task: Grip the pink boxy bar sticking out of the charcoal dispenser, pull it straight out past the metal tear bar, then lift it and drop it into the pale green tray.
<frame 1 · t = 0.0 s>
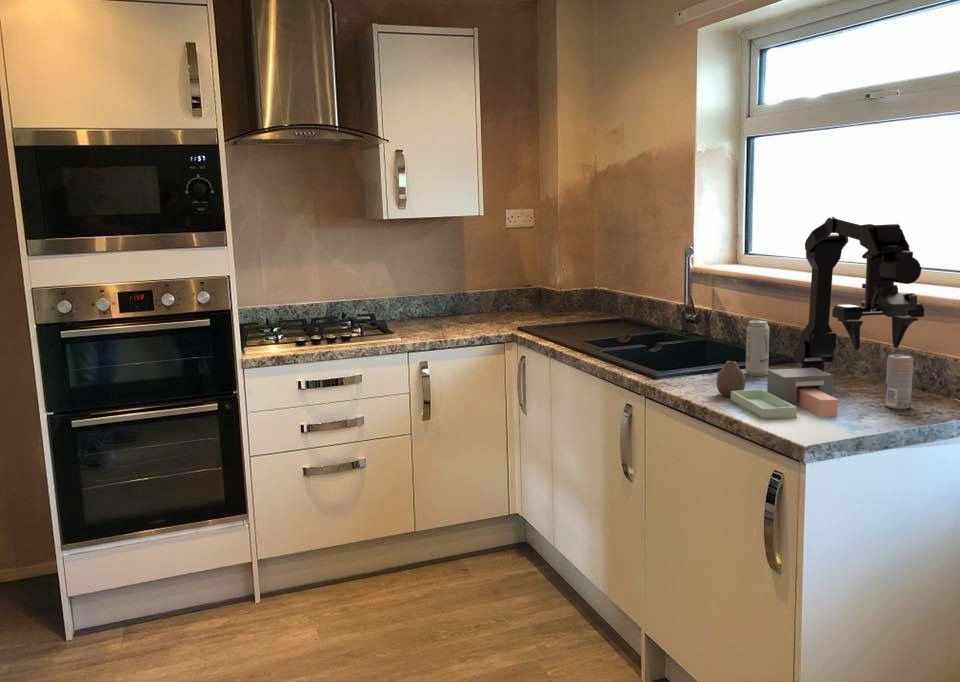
hand: (876, 348, 181), 15 cm above the worktop, tool pointing down, fingers open, 9 cm apart
pink boxy bar: (814, 409, 189), on the worktop
energy drink: (897, 407, 188), on the worktop
dispenser: (798, 400, 196), on the worktop
vase: (730, 396, 203), on the worktop
tray: (762, 408, 189), on the worktop
energy drink can: (756, 374, 227), on the worktop
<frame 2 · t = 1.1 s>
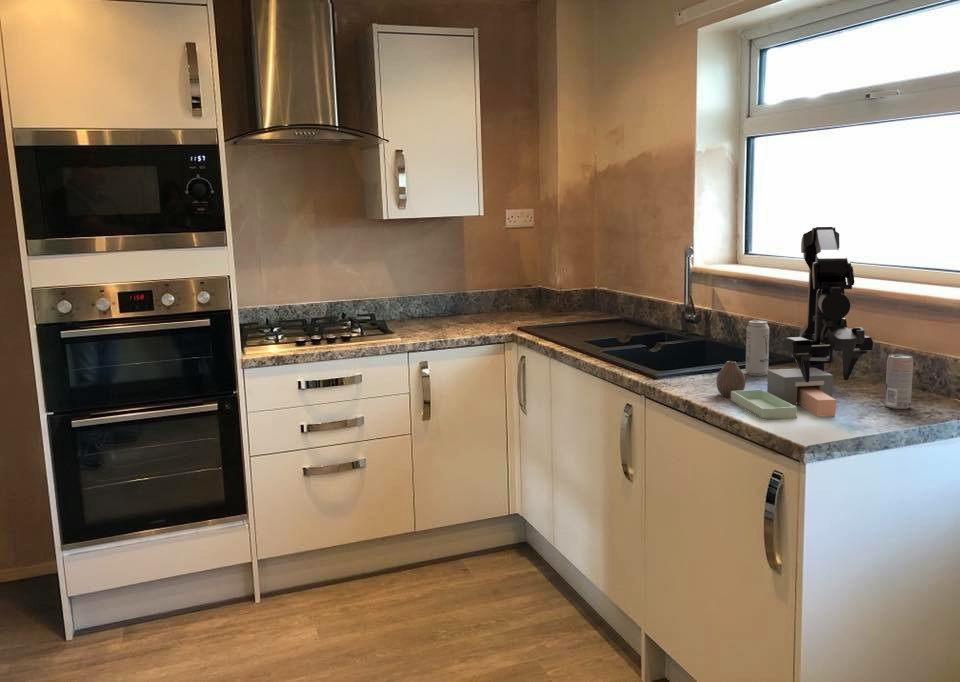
hand: (826, 381, 183), 8 cm above the worktop, tool pointing down, fingers open, 9 cm apart
nothing on the worktop moved.
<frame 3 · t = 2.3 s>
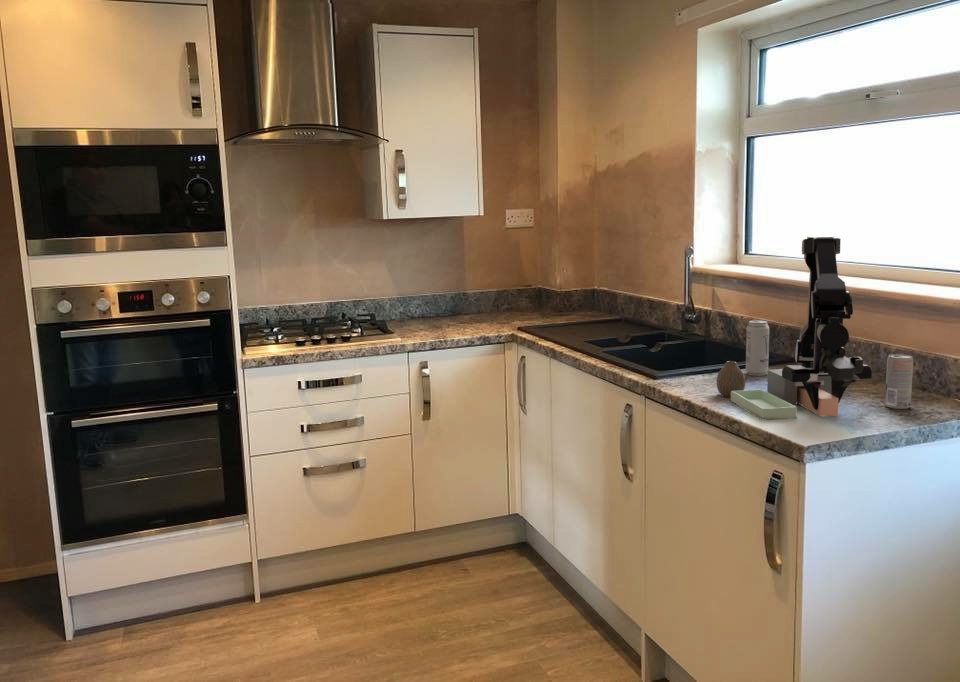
hand: (825, 408, 184), 1 cm above the worktop, tool pointing down, fingers closed on pink boxy bar, 4 cm apart
pink boxy bar: (815, 408, 189), on the worktop, touching gripper
everything else where it was.
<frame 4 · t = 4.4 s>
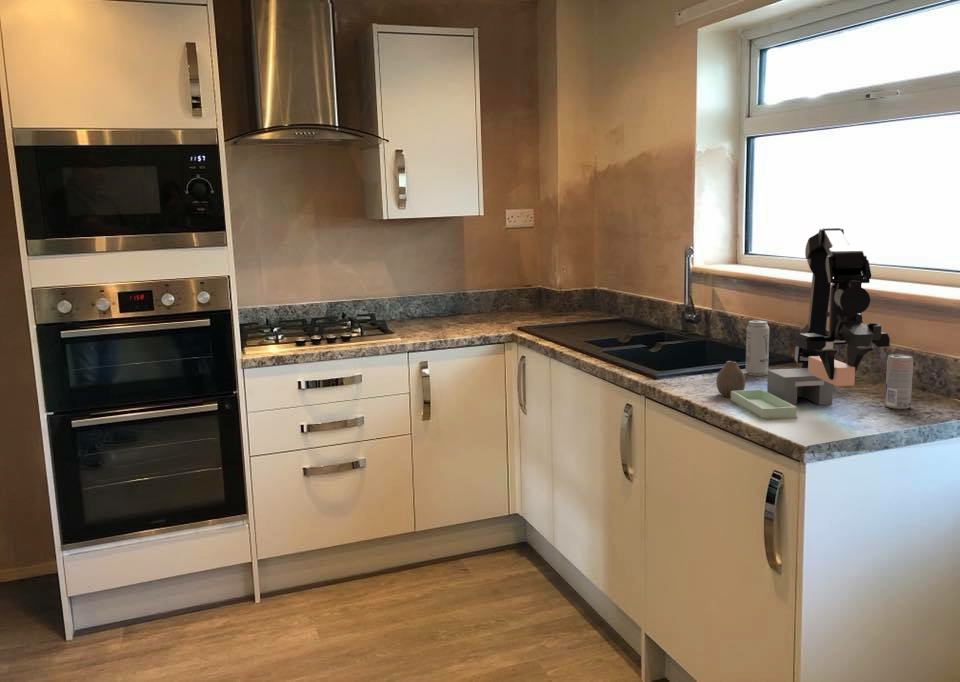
hand: (840, 378, 176), 9 cm above the worktop, tool pointing down, fingers closed on pink boxy bar, 4 cm apart
pink boxy bar: (830, 379, 181), point 8 cm above the worktop, touching gripper
everything else where it was.
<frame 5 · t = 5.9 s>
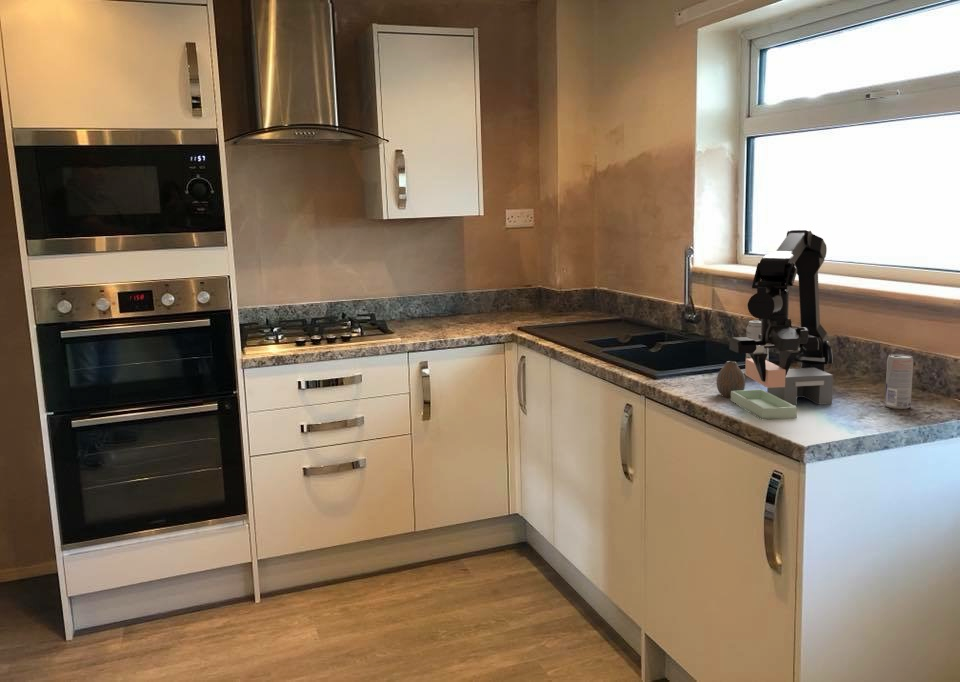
hand: (772, 380, 183), 8 cm above the worktop, tool pointing down, fingers closed on pink boxy bar, 4 cm apart
pink boxy bar: (764, 380, 188), point 7 cm above the worktop, touching gripper
everything else where it was.
when the fingers open (3 cm above the worktop, at t = 6.8 s): pink boxy bar drops 2 cm, resting on tray.
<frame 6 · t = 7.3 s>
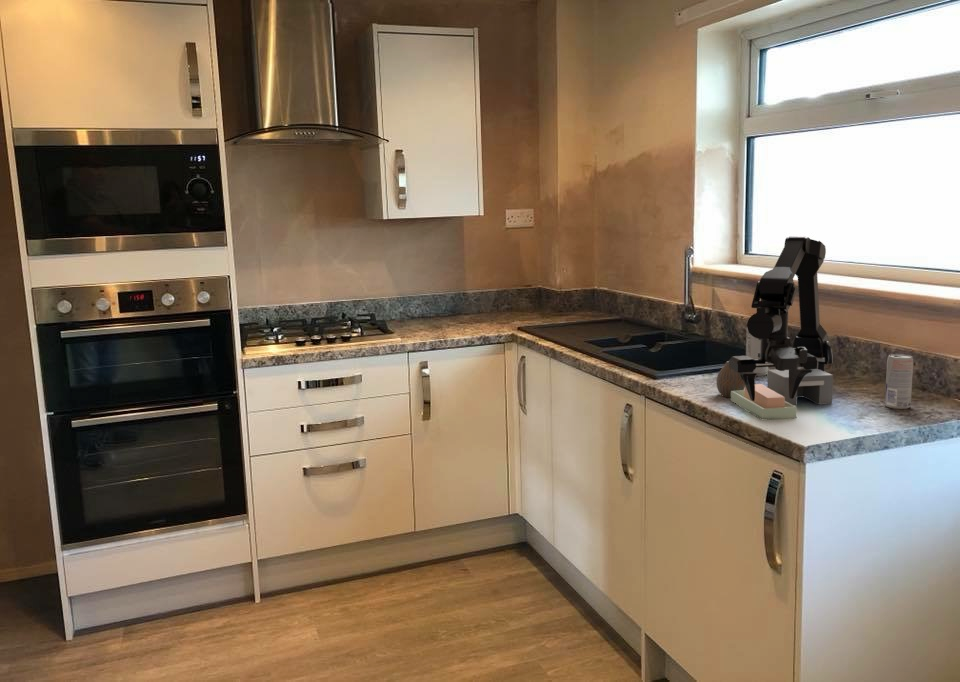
hand: (772, 399, 184), 3 cm above the worktop, tool pointing down, fingers open, 9 cm apart
pink boxy bar: (763, 407, 189), resting on tray
everything else where it was.
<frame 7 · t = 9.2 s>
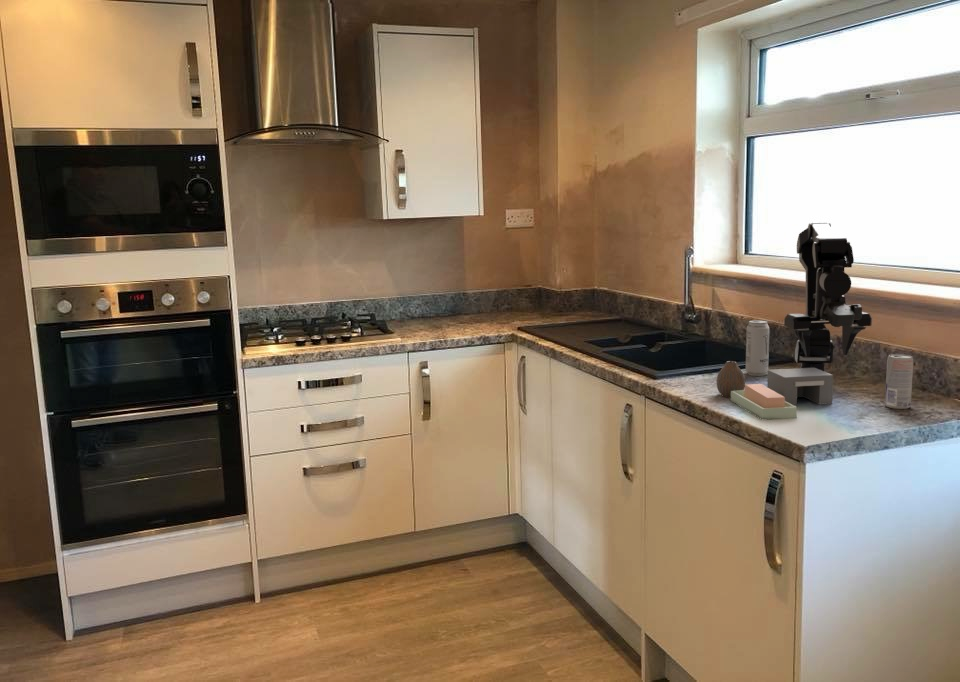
hand: (826, 355, 191), 12 cm above the worktop, tool pointing down, fingers open, 9 cm apart
nothing on the worktop moved.
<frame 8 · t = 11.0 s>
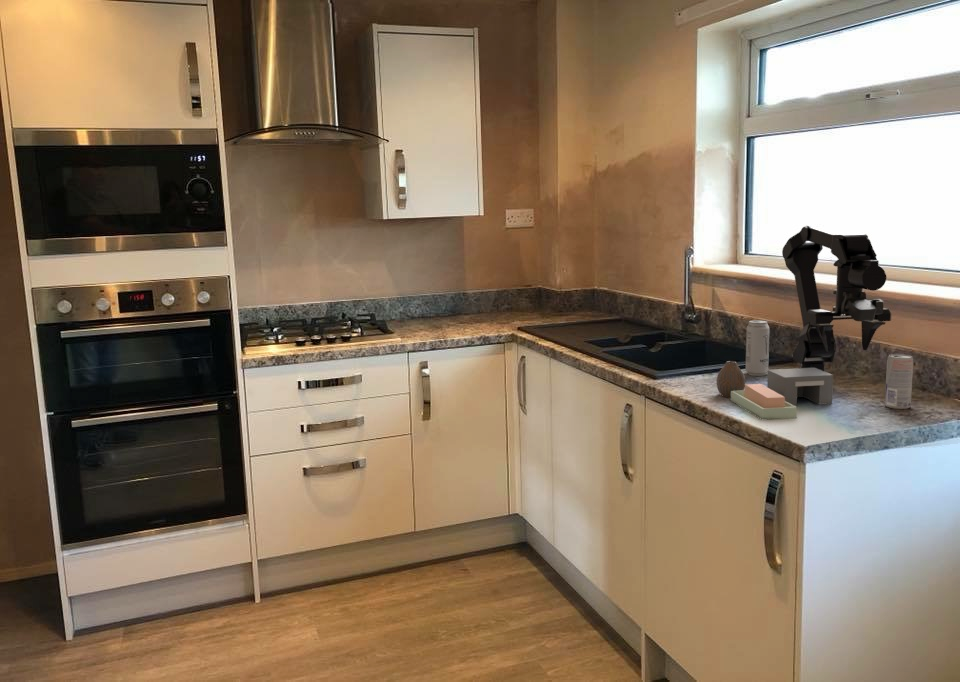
hand: (846, 350, 194), 12 cm above the worktop, tool pointing down, fingers open, 9 cm apart
nothing on the worktop moved.
at the end: pink boxy bar inside the target area on the tray (0.4 cm from its centre), point 0.5 cm above the tray's base; pink boxy bar moved 11.8 cm from its start; the gripper is holding nothing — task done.
